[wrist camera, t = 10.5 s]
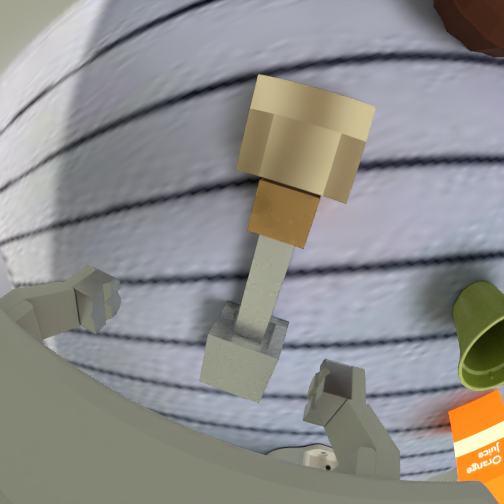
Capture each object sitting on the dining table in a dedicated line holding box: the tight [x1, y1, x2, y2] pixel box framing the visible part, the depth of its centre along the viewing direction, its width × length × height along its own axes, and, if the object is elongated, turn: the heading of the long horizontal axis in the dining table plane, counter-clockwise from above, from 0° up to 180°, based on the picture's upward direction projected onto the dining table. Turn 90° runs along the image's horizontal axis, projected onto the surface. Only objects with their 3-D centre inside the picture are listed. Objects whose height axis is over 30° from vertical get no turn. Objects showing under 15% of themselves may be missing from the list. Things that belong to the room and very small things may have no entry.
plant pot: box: [453, 281, 504, 391], centre depth 22 cm, size 9×9×9 cm
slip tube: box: [233, 177, 321, 344], centre depth 26 cm, size 4×19×6 cm, turn 167°
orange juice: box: [449, 389, 504, 504], centre depth 23 cm, size 8×9×20 cm
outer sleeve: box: [200, 301, 289, 403], centre depth 33 cm, size 7×8×6 cm
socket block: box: [236, 74, 376, 204], centre depth 22 cm, size 8×7×6 cm
